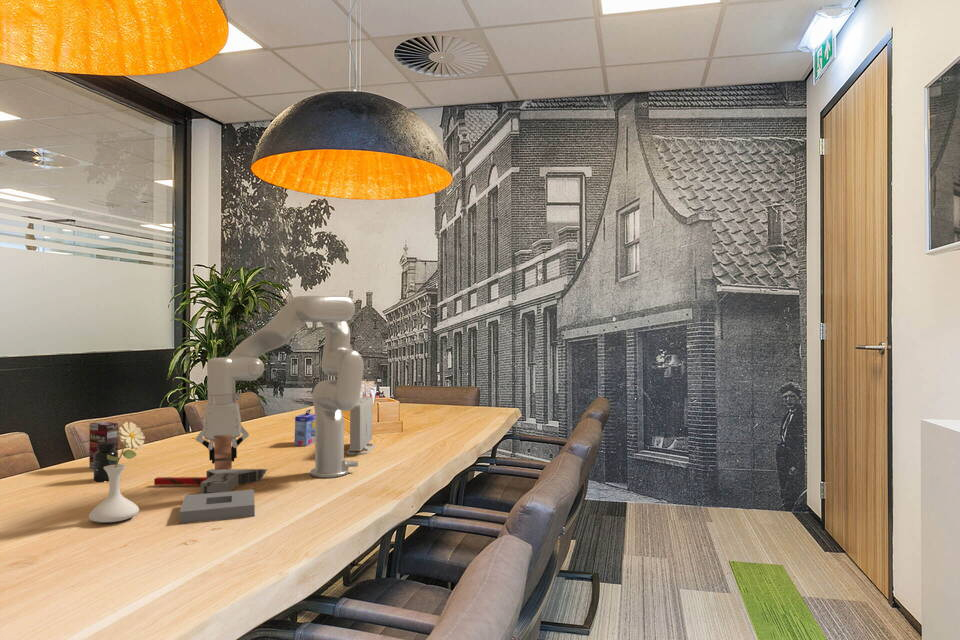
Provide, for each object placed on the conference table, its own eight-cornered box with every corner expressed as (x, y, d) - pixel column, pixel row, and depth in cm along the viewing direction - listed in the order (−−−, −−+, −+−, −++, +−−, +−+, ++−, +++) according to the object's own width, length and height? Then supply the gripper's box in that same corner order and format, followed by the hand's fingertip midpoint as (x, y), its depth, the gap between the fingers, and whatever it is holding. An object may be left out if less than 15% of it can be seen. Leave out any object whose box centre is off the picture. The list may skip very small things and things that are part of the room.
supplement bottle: (88, 480, 200) (89, 443, 200) (110, 476, 206) (110, 440, 206) (101, 483, 197) (101, 445, 197) (122, 478, 203) (122, 442, 203)
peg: (232, 464, 186) (231, 431, 185) (231, 468, 181) (231, 434, 181) (215, 466, 184) (214, 433, 184) (214, 470, 180) (213, 436, 179)
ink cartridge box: (306, 446, 256) (306, 411, 256) (293, 446, 257) (294, 411, 257) (316, 442, 266) (316, 408, 266) (304, 441, 266) (304, 407, 266)
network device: (365, 456, 238) (365, 404, 238) (342, 456, 238) (343, 404, 238) (377, 443, 263) (377, 396, 263) (356, 443, 263) (357, 396, 263)
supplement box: (88, 468, 216) (88, 423, 216) (101, 465, 220) (101, 421, 220) (105, 471, 213) (105, 424, 213) (118, 468, 217) (118, 422, 217)
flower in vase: (102, 529, 154) (103, 428, 154) (79, 521, 160) (80, 424, 160) (154, 515, 165) (154, 421, 165) (130, 508, 171) (131, 417, 171)
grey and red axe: (177, 464, 209) (267, 464, 210) (177, 475, 209) (267, 475, 210) (140, 482, 185) (241, 482, 186) (140, 495, 185) (241, 495, 186)
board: (253, 499, 180) (253, 489, 180) (254, 516, 165) (254, 504, 165) (185, 506, 173) (185, 495, 173) (179, 523, 158) (179, 511, 158)
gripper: (252, 396, 189) (253, 456, 189) (191, 400, 183) (192, 461, 183) (252, 399, 182) (254, 461, 182) (189, 403, 176) (190, 467, 176)
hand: (223, 460), depth 183 cm, fingers closed on peg, 4 cm apart
